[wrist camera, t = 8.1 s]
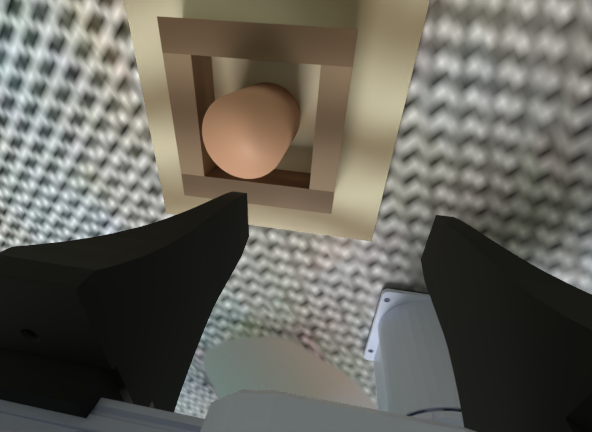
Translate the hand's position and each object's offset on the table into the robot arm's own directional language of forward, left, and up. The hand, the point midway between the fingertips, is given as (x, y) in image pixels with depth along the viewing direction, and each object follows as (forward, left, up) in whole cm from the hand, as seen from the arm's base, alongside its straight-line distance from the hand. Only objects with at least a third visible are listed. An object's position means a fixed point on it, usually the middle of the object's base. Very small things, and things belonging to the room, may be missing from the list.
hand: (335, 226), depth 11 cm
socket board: (+2, +5, -9) cm, 11 cm away
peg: (+2, +5, -8) cm, 10 cm away
